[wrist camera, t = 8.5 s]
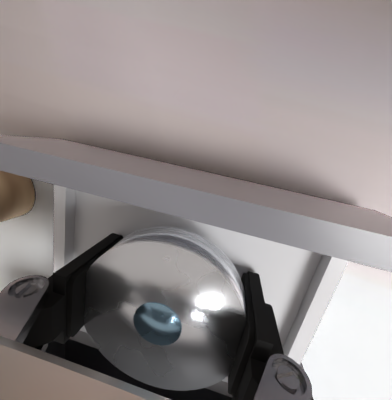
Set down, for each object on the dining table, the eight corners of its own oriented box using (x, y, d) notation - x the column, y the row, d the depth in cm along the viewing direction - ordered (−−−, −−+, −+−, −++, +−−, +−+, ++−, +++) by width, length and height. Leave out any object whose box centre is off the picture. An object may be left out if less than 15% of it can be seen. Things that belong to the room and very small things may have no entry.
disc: (108, 209, 9) (81, 222, 7) (265, 251, 8) (273, 276, 6) (98, 328, 11) (75, 359, 9) (224, 372, 10) (222, 414, 8)
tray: (60, 138, 12) (-45, 132, 7) (375, 210, 10) (496, 261, 5) (58, 306, 15) (-15, 371, 10) (291, 385, 13) (321, 508, 8)
